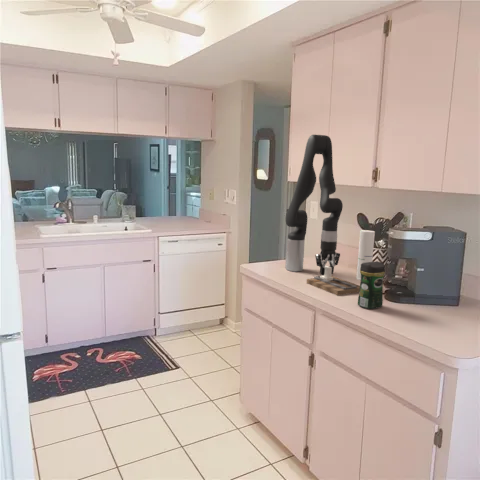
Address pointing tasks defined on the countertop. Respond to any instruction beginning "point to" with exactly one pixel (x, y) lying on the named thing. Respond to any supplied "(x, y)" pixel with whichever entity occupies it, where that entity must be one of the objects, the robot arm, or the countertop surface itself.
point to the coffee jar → (371, 285)
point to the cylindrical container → (365, 249)
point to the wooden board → (334, 285)
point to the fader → (327, 274)
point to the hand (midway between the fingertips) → (326, 274)
